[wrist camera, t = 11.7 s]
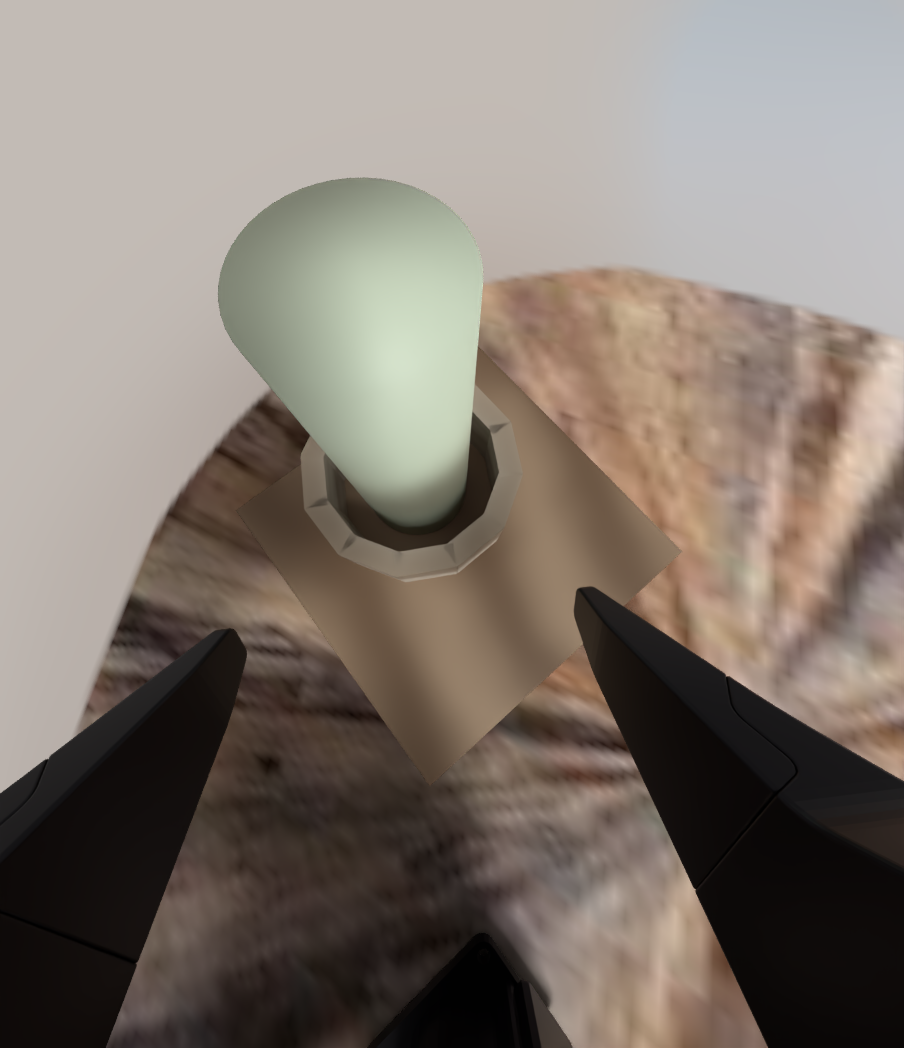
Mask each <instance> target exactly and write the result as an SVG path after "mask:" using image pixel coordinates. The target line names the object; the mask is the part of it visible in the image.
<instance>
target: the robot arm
mask: <svg viewBox="0 0 904 1048" xmlns="http://www.w3.org/2000/svg"><path fill="white" fill-rule="evenodd" d="M574 618H575V621H576V624H577V627H578V630H579V633H580V636H581V639H582V642H583V645H584V647H585V650H586V653H587V656H588V659H589V662H590V665H591V668H592V671H593V673H594V675H595V678H596V680H597V682H598V684H599V687H600V689H601V691H602V693H603V695H604V697H605V699H606V702H607V704H608V706H609V708H610V710H611V712H612V714H613V717H614V719H615V721H616V723H617V725H618V727H619V729H620V731H621V734H622V736H623V738H624V740H625V742H626V744H627V746H628V749H629V751H630V753H631V755H632V757H633V759H634V761H635V764H636V766H637V768H638V770H639V772H640V774H641V776H642V778H643V781H644V783H645V785H646V787H647V789H648V791H649V793H650V796H651V798H652V800H653V802H654V804H655V806H656V808H657V811H658V813H659V815H660V817H661V819H662V821H663V823H664V826H665V828H666V830H667V832H668V834H669V836H670V838H671V840H672V843H673V845H674V847H675V849H676V851H677V853H678V855H679V858H680V860H681V862H682V864H683V866H684V868H685V870H686V873H687V875H688V877H689V879H690V881H691V883H692V885H693V887H694V889H696V890H695V892H696V894H697V897H698V899H699V901H700V903H701V905H702V907H703V909H704V912H705V914H706V916H707V918H708V920H709V922H710V924H711V927H712V929H713V931H714V933H715V935H716V937H717V939H718V942H719V944H720V946H721V948H722V950H723V952H724V954H725V956H726V959H727V961H728V963H729V965H730V967H731V969H732V971H733V974H734V976H735V978H736V980H737V982H738V984H739V986H740V989H741V991H742V993H743V995H744V997H745V999H746V1001H747V1004H748V1006H749V1008H750V1010H751V1012H752V1014H753V1016H754V1019H755V1021H756V1023H757V1025H758V1027H759V1029H760V1031H761V1034H762V1036H763V1038H764V1040H765V1042H766V1044H767V1046H768V1048H904V781H903V780H901V779H899V778H897V777H895V776H894V775H892V774H890V773H888V772H887V771H885V770H883V769H882V768H880V767H878V766H876V765H875V764H873V763H871V762H870V761H868V760H866V759H864V758H863V757H861V756H859V755H857V754H856V753H854V752H852V751H851V750H849V749H847V748H845V747H844V746H842V745H840V744H838V743H837V742H835V741H833V740H832V739H830V738H828V737H826V736H825V735H823V734H821V733H819V732H818V731H816V730H814V729H813V728H811V727H809V726H808V725H806V724H804V723H802V722H801V721H799V720H797V719H796V718H794V717H792V716H791V715H789V714H787V713H786V712H784V711H782V710H781V709H779V708H777V707H776V706H774V705H773V704H771V703H770V702H768V701H766V700H765V699H763V698H762V697H760V696H759V695H757V694H755V693H754V692H752V691H751V690H749V689H748V688H746V687H745V686H743V685H742V684H740V683H739V682H737V681H736V680H734V679H733V678H731V677H729V676H727V677H726V675H725V673H723V672H722V671H720V670H719V669H717V668H716V667H714V666H713V665H711V664H710V663H708V662H707V661H705V660H704V659H702V658H701V657H699V656H698V655H696V654H695V653H693V652H692V651H690V650H689V649H687V648H686V647H684V646H683V645H681V644H680V643H678V642H677V641H675V640H674V639H672V638H671V637H669V636H668V635H666V634H665V633H663V632H662V631H660V630H659V629H657V628H656V627H654V626H653V625H651V624H650V623H648V622H647V621H645V620H644V619H642V618H641V617H639V616H638V615H636V614H635V613H633V612H632V611H630V610H628V609H627V608H625V607H624V606H622V605H621V604H619V603H618V602H616V601H615V600H613V599H612V598H610V597H609V596H607V595H606V594H604V593H603V592H601V591H600V590H598V589H597V588H595V587H593V586H588V587H580V588H578V589H577V590H576V595H575V603H574ZM246 658H247V651H246V648H245V646H244V644H243V643H242V641H241V639H240V637H239V636H238V634H237V632H236V631H235V630H234V629H231V628H228V629H219V630H215V631H214V632H212V633H211V634H209V635H208V636H207V637H206V638H204V639H203V640H202V641H200V642H199V643H198V644H196V645H195V646H194V647H192V648H191V649H190V650H188V651H187V652H186V653H185V654H183V655H182V656H181V657H179V658H178V659H177V660H175V661H174V662H173V663H171V664H170V665H169V666H167V667H166V668H165V669H163V670H162V671H161V672H160V673H158V674H157V675H156V676H154V677H153V678H152V679H150V680H149V681H148V682H146V683H145V684H144V685H142V686H141V687H140V688H139V689H137V690H136V691H135V692H133V693H132V694H131V695H129V696H128V697H127V698H125V699H124V700H123V701H121V702H120V703H119V704H118V705H116V706H115V707H114V708H112V709H111V710H110V711H108V712H107V713H106V714H104V715H103V716H102V717H100V718H99V719H98V720H97V721H95V722H94V723H93V724H91V725H90V726H89V727H87V728H86V729H85V730H83V731H82V732H81V733H79V734H78V735H77V736H76V737H74V738H73V739H72V740H70V741H69V742H68V743H66V744H65V745H64V746H62V747H61V748H60V749H58V750H57V751H56V752H55V753H53V754H52V755H51V756H50V757H49V759H46V760H44V761H43V762H41V763H40V764H39V765H37V766H36V767H35V768H33V769H32V770H31V771H30V772H28V773H27V774H26V775H24V776H23V777H22V778H20V779H19V780H18V781H17V782H15V783H14V784H12V785H11V786H10V787H8V788H7V789H6V790H4V791H3V792H2V793H0V1048H106V1046H107V1043H108V1040H109V1038H110V1035H111V1032H112V1030H113V1027H114V1024H115V1022H116V1019H117V1016H118V1014H119V1011H120V1009H121V1006H122V1003H123V1001H124V998H125V995H126V993H127V990H128V987H129V985H130V982H131V980H132V977H133V974H134V972H135V969H136V966H137V964H136V963H137V962H138V960H139V958H140V955H141V952H142V950H143V947H144V944H145V942H146V939H147V937H148V934H149V931H150V929H151V926H152V923H153V921H154V918H155V915H156V913H157V910H158V907H159V905H160V902H161V900H162V897H163V894H164V892H165V889H166V886H167V884H168V881H169V878H170V876H171V873H172V870H173V868H174V865H175V863H176V860H177V857H178V855H179V852H180V849H181V847H182V844H183V841H184V839H185V836H186V834H187V831H188V828H189V826H190V823H191V820H192V818H193V815H194V812H195V810H196V807H197V804H198V802H199V799H200V797H201V794H202V791H203V789H204V786H205V783H206V781H207V778H208V775H209V773H210V770H211V767H212V765H213V762H214V760H215V757H216V754H217V752H218V749H219V746H220V744H221V741H222V738H223V736H224V733H225V731H226V728H227V725H228V722H229V719H230V717H231V713H232V710H233V707H234V703H235V699H236V696H237V692H238V688H239V684H240V681H241V677H242V673H243V669H244V666H245V662H246ZM481 949H486V950H487V951H488V953H487V954H485V955H481V954H479V953H478V952H479V950H481ZM368 1048H572V1045H571V1043H570V1041H569V1039H568V1038H567V1036H566V1035H565V1033H564V1032H563V1030H562V1029H561V1027H560V1026H559V1024H558V1023H557V1022H556V1020H555V1019H554V1017H553V1016H552V1014H551V1013H550V1011H549V1010H548V1008H547V1007H546V1005H545V1004H544V1003H543V1001H542V1000H541V998H540V997H539V995H538V994H537V992H536V991H535V989H534V988H533V986H532V985H531V983H530V982H528V981H526V980H524V979H521V980H520V978H519V977H518V975H517V974H516V973H515V971H514V970H513V968H512V967H511V965H510V964H509V962H508V961H507V959H506V958H505V956H504V955H503V953H502V952H501V950H500V949H499V947H498V946H497V945H496V943H495V942H494V940H493V939H492V937H491V936H490V935H489V934H486V933H479V934H477V935H476V936H474V937H473V939H472V940H471V941H470V942H469V943H468V944H467V945H466V946H465V947H464V948H463V949H462V950H461V951H460V952H459V953H458V954H457V955H456V956H455V957H454V958H453V959H452V960H451V961H450V962H449V963H448V964H447V965H446V966H445V967H444V968H443V969H442V970H441V972H440V973H439V974H438V975H437V976H436V977H435V978H434V979H433V980H432V981H431V982H430V983H429V984H428V985H427V986H426V987H425V988H424V989H423V990H422V991H421V992H420V993H419V994H418V995H417V996H416V997H415V998H414V999H413V1000H412V1001H411V1002H410V1003H409V1004H408V1006H407V1007H406V1008H405V1009H404V1010H403V1011H402V1012H401V1013H400V1014H399V1015H398V1016H397V1017H396V1018H395V1019H394V1020H393V1021H392V1022H391V1023H390V1024H389V1025H388V1026H387V1027H386V1028H385V1029H384V1030H383V1031H382V1032H381V1033H380V1034H379V1035H378V1036H377V1037H376V1038H375V1040H374V1041H373V1042H372V1043H371V1044H370V1045H369V1046H368Z"/></svg>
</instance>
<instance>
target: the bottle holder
mask: <svg viewBox="0 0 904 1048" xmlns="http://www.w3.org/2000/svg"><path fill="white" fill-rule="evenodd" d="M300 456H301V464H300V465H299V466H297V467H296V468H295V469H293V470H292V471H290V472H289V473H288V474H286V475H285V476H283V477H282V478H281V479H279V480H278V481H276V482H275V483H274V484H272V485H271V486H269V487H268V488H267V489H265V490H264V491H263V492H261V493H260V494H258V495H257V496H256V497H254V498H253V499H251V500H250V501H249V502H247V503H246V504H244V505H243V506H242V507H240V508H239V509H237V510H236V511H237V513H238V514H239V516H240V517H241V519H242V520H243V521H244V523H245V524H246V526H247V527H248V529H249V530H250V531H251V533H252V534H253V536H254V537H255V539H256V540H257V541H258V543H259V544H260V546H261V547H262V548H263V550H264V551H265V553H266V554H267V556H268V557H269V558H270V560H271V561H272V563H273V564H274V566H275V567H276V568H277V570H278V571H279V573H280V574H281V576H282V577H283V578H284V580H285V581H286V583H287V584H288V585H289V587H290V588H291V590H292V591H293V593H294V594H295V595H296V597H297V598H298V600H299V601H300V603H301V604H302V605H303V607H304V608H305V610H306V611H307V613H308V614H309V615H310V617H311V618H312V620H313V621H314V622H315V624H316V625H317V627H318V628H319V630H320V631H321V632H322V634H323V635H324V637H325V638H326V640H327V641H328V642H329V644H330V645H331V647H332V648H333V650H334V651H335V652H336V654H337V655H338V657H339V658H340V659H341V661H342V662H343V664H344V665H345V667H346V668H347V669H348V671H349V672H350V674H351V675H352V677H353V678H354V679H355V681H356V682H357V684H358V685H359V687H360V688H361V689H362V691H363V692H364V694H365V695H366V696H367V698H368V699H369V701H370V702H371V704H372V705H373V706H374V708H375V709H376V711H377V712H378V714H379V715H380V716H381V718H382V719H383V721H384V722H385V724H386V725H387V726H388V728H389V729H390V731H391V732H392V733H393V735H394V736H395V738H396V739H397V741H398V742H399V743H400V745H401V746H402V748H403V749H404V751H405V752H406V753H407V755H408V756H409V758H410V759H411V761H412V762H413V763H414V765H415V766H416V768H417V769H418V770H419V772H420V773H421V775H422V776H423V778H424V779H425V780H426V782H427V783H428V785H429V786H431V785H432V784H433V783H434V782H435V781H436V780H437V779H438V778H439V777H440V776H441V775H442V774H444V773H445V772H446V771H447V770H448V769H449V768H450V767H451V766H452V765H453V764H454V763H455V762H456V761H458V760H459V759H460V758H461V757H462V756H463V755H464V754H465V753H466V752H467V751H468V750H469V749H470V748H471V747H473V746H474V745H475V744H476V743H477V742H478V741H479V740H480V739H481V738H482V737H483V736H484V735H485V734H487V733H488V732H489V731H490V730H491V729H492V728H493V727H494V726H495V725H496V724H497V723H498V722H499V721H501V720H502V719H503V718H504V717H505V716H506V715H507V714H508V713H509V712H510V711H511V710H512V709H513V708H515V707H516V706H517V705H518V704H519V703H520V702H521V701H522V700H523V699H524V698H525V697H526V696H527V695H529V694H530V693H531V692H532V691H533V690H534V689H535V688H536V687H537V686H538V685H539V684H540V683H541V682H542V681H544V680H545V679H546V678H547V677H548V676H549V675H550V674H551V673H552V672H553V671H554V670H555V669H556V668H558V667H559V666H560V665H561V664H562V663H563V662H564V661H565V660H566V659H567V658H568V657H569V656H570V655H572V654H573V653H574V652H575V651H576V650H577V649H578V648H579V647H580V646H581V645H582V644H583V642H582V639H581V636H580V633H579V630H578V627H577V624H576V621H575V618H574V603H575V595H576V590H577V589H578V588H580V587H588V586H593V587H595V588H597V589H598V590H600V591H601V592H603V593H604V594H606V595H607V596H609V597H610V598H612V599H613V600H615V601H616V602H618V603H619V604H621V605H622V606H624V605H625V604H626V603H627V602H629V601H630V600H631V599H632V598H633V597H634V596H635V595H636V594H637V593H638V592H639V591H640V590H641V589H643V588H644V587H645V586H646V585H647V584H648V583H649V582H650V581H651V580H652V579H653V578H654V577H655V576H657V575H658V574H659V573H660V572H661V571H662V570H663V569H664V568H665V567H666V566H667V565H668V564H669V563H671V562H672V561H673V560H674V559H675V558H676V557H677V556H678V555H679V554H680V553H681V552H682V551H681V550H680V549H679V548H678V547H677V546H676V545H675V544H674V543H673V542H672V541H671V540H670V539H669V538H668V537H667V536H666V535H665V534H664V533H663V532H662V531H661V530H660V529H659V528H658V527H657V526H656V525H655V524H654V523H653V522H652V521H651V520H650V519H649V518H648V517H647V516H646V515H645V514H644V513H643V512H642V511H641V510H640V509H639V508H638V507H637V506H636V505H635V504H634V503H633V502H632V501H631V500H630V499H629V498H628V497H627V496H626V495H625V494H624V493H623V492H622V491H621V490H620V489H619V488H618V487H617V486H616V485H615V483H614V482H613V481H612V480H611V479H610V478H609V477H608V476H607V475H606V474H605V473H604V472H603V471H602V470H601V469H600V468H599V467H598V466H597V465H596V464H595V463H594V462H593V461H592V460H591V459H590V458H589V457H588V456H587V455H586V454H585V453H584V452H583V451H582V450H581V449H580V448H579V447H578V446H577V445H576V444H575V443H574V442H573V441H572V440H571V439H570V438H569V437H568V436H567V435H566V434H565V433H564V432H563V431H562V430H561V429H560V428H559V427H558V426H557V425H556V424H555V423H554V422H553V421H552V420H551V419H550V418H549V417H548V416H547V415H546V414H545V413H544V412H543V411H542V410H541V409H540V408H539V407H538V406H537V405H536V404H535V403H534V402H533V401H532V400H531V399H530V398H529V397H528V396H527V395H526V394H525V393H524V392H523V391H522V390H521V389H520V388H519V387H518V386H517V385H516V384H515V383H514V382H513V381H512V380H511V379H510V378H509V377H508V376H507V375H506V374H505V373H504V372H503V371H502V370H501V369H500V368H499V367H498V366H497V365H496V364H495V363H494V362H493V361H492V360H491V359H490V358H489V357H488V356H487V355H486V354H485V353H484V352H483V351H482V350H481V349H480V348H479V347H478V349H477V361H476V373H475V385H474V397H473V409H472V421H471V433H470V445H469V458H468V470H467V482H466V493H465V498H464V502H463V505H462V507H461V509H460V511H459V512H458V514H457V515H456V517H455V518H454V519H453V520H452V521H451V522H450V523H448V524H447V525H446V526H444V527H443V528H441V529H439V530H437V531H435V532H432V533H428V534H422V535H412V534H405V533H402V532H399V531H396V530H394V529H393V528H391V527H389V526H388V525H387V524H385V523H384V522H383V521H382V520H381V519H380V518H379V516H378V515H377V514H376V513H375V512H374V510H373V509H372V508H371V507H370V506H369V505H368V503H367V502H366V501H365V500H364V499H363V497H362V496H361V495H360V494H359V493H358V491H357V490H356V489H355V488H354V487H353V485H352V484H351V483H350V482H349V481H348V480H347V478H346V477H345V476H344V475H343V474H342V472H341V471H340V470H339V469H338V468H337V466H336V465H335V464H334V463H333V462H332V460H331V459H330V458H329V457H328V456H327V455H326V453H325V452H324V451H323V450H322V449H321V447H320V446H319V445H318V444H317V443H316V441H315V440H314V439H313V438H312V437H311V435H310V437H309V439H308V441H307V443H306V445H305V447H304V449H303V451H302V453H301V455H300Z"/></svg>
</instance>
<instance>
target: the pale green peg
mask: <svg viewBox="0 0 904 1048" xmlns="http://www.w3.org/2000/svg"><path fill="white" fill-rule="evenodd" d="M482 288H483V265H482V261H481V256H480V252H479V249H478V246H477V244H476V241H475V239H474V237H473V235H472V234H471V232H470V230H469V229H468V227H467V226H466V224H465V223H464V222H463V221H462V220H461V218H460V217H459V216H458V215H457V214H456V213H455V212H454V211H453V210H452V209H451V208H450V207H448V206H447V205H446V204H444V203H443V202H441V201H440V200H439V199H437V198H436V197H434V196H432V195H430V194H428V193H427V192H425V191H422V190H420V189H417V188H415V187H413V186H410V185H406V184H403V183H399V182H396V181H390V180H384V179H376V178H346V179H338V180H331V181H327V182H323V183H318V184H314V185H312V186H308V187H305V188H302V189H300V190H298V191H295V192H293V193H291V194H289V195H287V196H285V197H283V198H281V199H280V200H278V201H276V202H274V203H273V204H271V205H270V206H269V207H267V208H266V209H264V210H263V211H262V212H260V213H259V214H258V215H257V216H256V217H255V218H254V219H253V220H252V221H250V222H249V223H248V225H247V226H246V227H245V228H244V229H243V230H242V232H241V233H240V234H239V235H238V237H237V238H236V240H235V242H234V243H233V244H232V246H231V248H230V250H229V252H228V254H227V256H226V258H225V261H224V264H223V267H222V270H221V273H220V279H219V285H218V302H219V308H220V315H221V317H222V320H223V323H224V326H225V329H226V331H227V333H228V334H229V336H230V338H231V340H232V342H233V343H234V344H235V345H236V347H237V348H238V349H239V351H240V352H241V353H242V355H243V356H244V357H245V358H246V359H247V360H248V362H249V363H250V364H251V365H252V366H253V368H254V369H255V370H256V371H257V372H258V373H259V375H260V376H261V377H262V378H263V379H264V381H265V382H266V383H267V384H268V385H269V387H270V388H271V389H272V390H273V391H274V393H275V394H276V395H277V396H278V397H279V399H280V400H281V401H282V402H283V403H284V405H285V406H286V407H287V408H288V409H289V410H290V412H291V413H292V414H293V415H294V416H295V418H296V419H297V420H298V421H299V422H300V424H301V425H302V426H303V427H304V428H305V430H306V431H307V432H308V433H309V434H310V435H311V437H312V438H313V439H314V440H315V441H316V443H317V444H318V445H319V446H320V447H321V449H322V450H323V451H324V452H325V453H326V455H327V456H328V457H329V458H330V459H331V460H332V462H333V463H334V464H335V465H336V466H337V468H338V469H339V470H340V471H341V472H342V474H343V475H344V476H345V477H346V478H347V480H348V481H349V482H350V483H351V484H352V485H353V487H354V488H355V489H356V490H357V491H358V493H359V494H360V495H361V496H362V497H363V499H364V500H365V501H366V502H367V503H368V505H369V506H370V507H371V508H372V509H373V510H374V512H375V513H376V514H377V515H378V516H379V518H380V519H381V520H382V521H383V522H384V523H385V524H387V525H388V526H389V527H391V528H393V529H394V530H396V531H399V532H402V533H405V534H412V535H422V534H428V533H432V532H435V531H437V530H439V529H441V528H443V527H444V526H446V525H447V524H448V523H450V522H451V521H452V520H453V519H454V518H455V517H456V515H457V514H458V512H459V511H460V509H461V507H462V505H463V502H464V498H465V493H466V482H467V470H468V458H469V445H470V433H471V421H472V409H473V397H474V385H475V373H476V361H477V349H478V337H479V325H480V312H481V300H482Z"/></svg>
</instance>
